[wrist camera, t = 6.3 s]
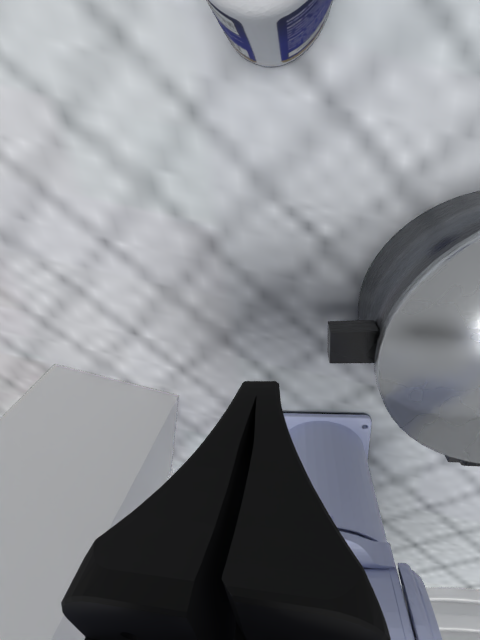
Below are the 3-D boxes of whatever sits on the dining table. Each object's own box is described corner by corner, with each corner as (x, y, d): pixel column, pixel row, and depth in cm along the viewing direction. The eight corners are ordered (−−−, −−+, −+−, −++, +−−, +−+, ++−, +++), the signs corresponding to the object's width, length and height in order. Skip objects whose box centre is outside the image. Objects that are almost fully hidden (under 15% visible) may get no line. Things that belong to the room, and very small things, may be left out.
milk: (178, 395, 27) (-413, 1631, 4) (171, 469, 33) (-100, 1166, 10) (55, 364, 27) (-1042, 1315, 5) (68, 442, 33) (-405, 1045, 11)
